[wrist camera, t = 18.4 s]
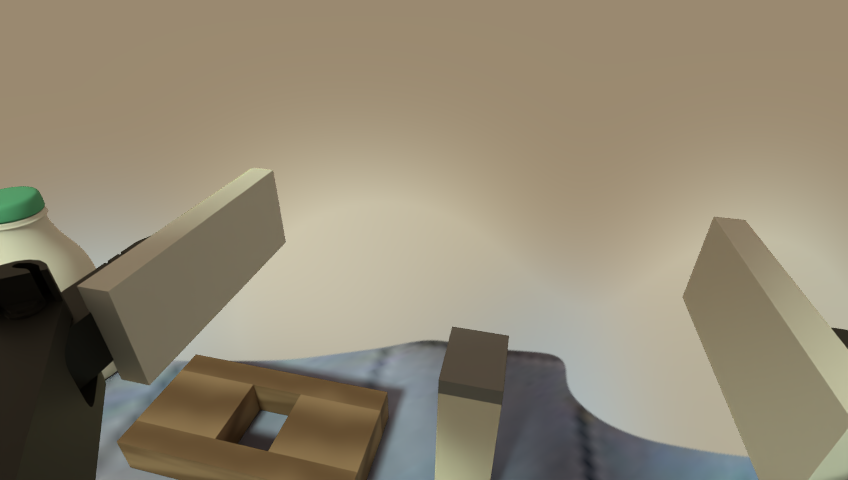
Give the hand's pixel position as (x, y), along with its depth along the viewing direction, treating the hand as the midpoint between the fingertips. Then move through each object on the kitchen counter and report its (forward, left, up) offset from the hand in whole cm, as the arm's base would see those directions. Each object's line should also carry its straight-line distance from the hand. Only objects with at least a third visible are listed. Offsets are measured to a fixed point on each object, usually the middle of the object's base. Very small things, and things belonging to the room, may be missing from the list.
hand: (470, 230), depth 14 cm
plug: (+8, -5, -30) cm, 32 cm away
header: (+17, +11, -30) cm, 36 cm away
